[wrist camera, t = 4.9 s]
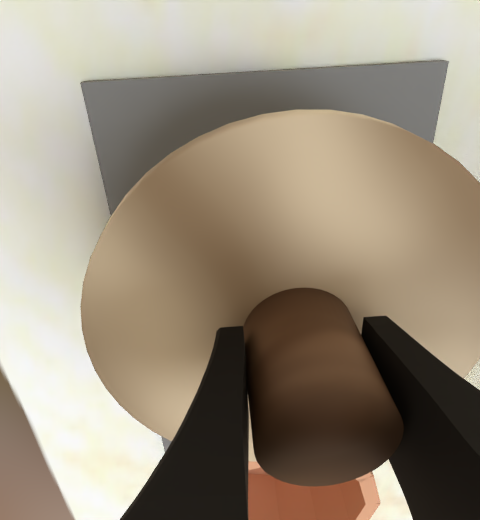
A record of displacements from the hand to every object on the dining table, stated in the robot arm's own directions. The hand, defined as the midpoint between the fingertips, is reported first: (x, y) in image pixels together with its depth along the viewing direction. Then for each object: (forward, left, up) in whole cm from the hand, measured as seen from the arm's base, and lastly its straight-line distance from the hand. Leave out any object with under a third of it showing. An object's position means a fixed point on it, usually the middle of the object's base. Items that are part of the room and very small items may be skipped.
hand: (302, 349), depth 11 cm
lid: (0, 0, -2) cm, 2 cm away
